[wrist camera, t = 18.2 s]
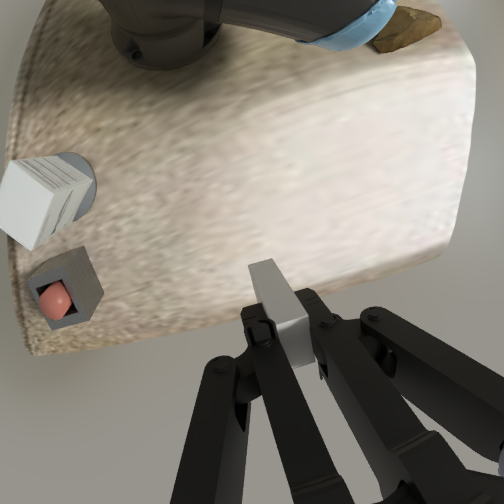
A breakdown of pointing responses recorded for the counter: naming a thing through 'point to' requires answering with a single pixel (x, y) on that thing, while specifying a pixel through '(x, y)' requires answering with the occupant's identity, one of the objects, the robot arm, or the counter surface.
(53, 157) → the supplement box
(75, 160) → the coaster
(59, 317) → the button
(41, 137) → the counter surface
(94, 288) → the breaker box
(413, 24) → the rock
